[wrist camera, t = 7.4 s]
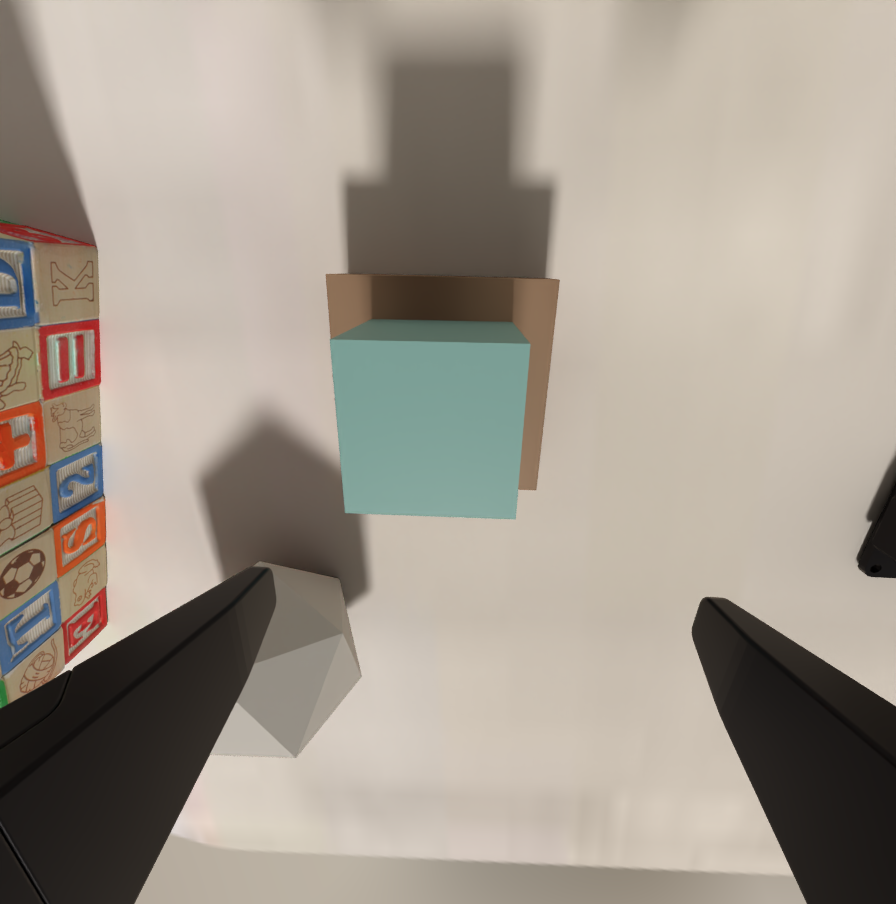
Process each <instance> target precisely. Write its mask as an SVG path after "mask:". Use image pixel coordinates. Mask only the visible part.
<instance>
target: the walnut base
mask: <svg viewBox="0 0 896 904" xmlns="http://www.w3.org/2000/svg"><path fill="white" fill-rule="evenodd" d="M559 281H560V280H557V279H548V278H512V277H470V276H428V275H386V274H326V284H327V297H328V309H329V322H330V334H331V339H332V338H334V337H336V336H338V335H340V334H342V333H344V332H346V331H348V330H350V329H352V328H354V327H356V326H358V325H360V324H362V323H365V322H367V321H369V320H371V319H391V320H441V321H491V322H513V323H514V324H515V326H516V327H517V328H518V329H519V330H520V332H521V333H522V334H523V335H524V337H525V338H526V339H527V340H528V341H529V343H530V356H529V368H528V380H527V391H526V403H525V415H524V427H523V438H522V450H521V462H520V473H519V485H518V489H519V490H536V488H537V479H538V470H539V461H540V452H541V443H542V434H543V425H544V416H545V407H546V398H547V389H548V380H549V371H550V362H551V353H552V344H553V335H554V326H555V317H556V308H557V299H558V290H559Z"/></svg>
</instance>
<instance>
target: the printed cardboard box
mask: <svg viewBox="0 0 896 904" xmlns="http://www.w3.org/2000/svg"><path fill="white" fill-rule="evenodd" d="M100 383H101V365H100V333H99V276H98V251H97V247H96V246H94V245H91V244H87V243H84V242H80V241H77V240H73V239H70V238H66V237H63V236H60V235H56V234H53V233H49V232H45V231H42V230H39V229H35V228H31V227H28V226H24V225H17V224H13V223H10V222H6V221H3V220H0V708H2V707H4V706H5V705H7V704H9V703H11V702H13V701H14V700H16V699H18V698H20V697H22V696H23V695H25V694H27V693H29V692H31V691H33V690H34V689H36V688H38V687H40V686H42V685H43V684H45V683H47V682H49V681H50V680H52V679H54V678H55V677H56V676H57V675H58V674H59V673H60V672H61V671H62V670H63V669H64V667H65V665H66V664H67V663H69V662H70V661H71V660H72V659H73V658H74V657H75V656H76V655H77V654H78V653H79V652H80V651H81V650H82V649H83V648H85V647H86V646H87V645H88V644H89V643H90V642H91V641H92V640H93V639H94V638H95V637H96V636H97V635H98V634H99V633H100V632H101V631H102V630H103V629H104V628H105V627H106V626H107V611H106V594H105V590H106V589H105V586H106V584H107V562H106V547H105V544H104V543H105V537H106V529H105V498H104V497H103V469H102V445H101V442H100V441H101V422H100V418H101V416H100V390H99V385H100Z"/></svg>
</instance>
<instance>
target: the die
mask: <svg viewBox="0 0 896 904" xmlns="http://www.w3.org/2000/svg"><path fill="white" fill-rule="evenodd" d="M253 566H260V567H269V568H270V569H271V570H272V572H273V577H274V584H275V591H276V607H275V610H274V613H273V616H272V618H271V621H270V624H269V626H268V629H267V631H266V634H265V637H264V639H263V642H262V644H261V647H260V650H259V652H258V655H257V658H256V660H255V663H254V665H253V668H252V670H251V673H250V675H249V678H248V680H247V682H246V684H245V686H244V688H243V690H242V692H241V694H240V696H239V698H238V700H237V702H236V704H235V706H234V708H233V710H232V712H231V714H230V716H229V718H228V720H227V722H226V724H225V726H224V728H223V730H222V732H221V734H220V736H219V738H218V739H217V741H216V743H215V745H214V747H213V749H212V751H211V753H210V755H226V756H251V757H277V758H296V757H297V756H298V755H299V754H300V752H301V751H302V750H303V749H304V747H305V746H306V745H307V744H308V742H309V741H310V740H311V739H312V738H313V736H314V735H315V734H316V733H317V731H318V730H319V729H320V728H321V726H322V725H323V724H324V723H325V721H326V720H327V719H328V718H329V716H330V715H331V714H332V713H333V712H334V710H335V709H336V708H337V707H338V705H339V704H340V703H341V702H342V700H343V699H344V698H345V697H346V695H347V694H348V693H349V692H350V690H351V689H352V688H353V687H354V686H355V684H356V683H357V682H358V681H359V679H360V678H361V677H362V675H361V671H360V667H359V662H358V658H357V653H356V649H355V645H354V640H353V636H352V632H351V627H350V623H349V618H348V614H347V610H346V605H345V601H344V597H343V592H342V588H341V584H340V579H338V578H334V577H329V576H325V575H320V574H316V573H311V572H306V571H302V570H297V569H293V568H288V567H284V566H279V565H275V564H270V563H265V562H261V561H259V562H258V563H256V564H255V565H253Z"/></svg>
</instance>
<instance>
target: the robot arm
mask: <svg viewBox="0 0 896 904" xmlns="http://www.w3.org/2000/svg"><path fill="white" fill-rule="evenodd" d="M858 568H859V569H860V570H861V571H862V572H863V573H865V574H866V575H867V576H870V577H883V578H896V483H895V486H894V488H893V490H892V492H891V494H890V496H889V499H888V501H887V503H886V505H885V507H884V509H883V512H882V514H881V516H880V518H879V520H878V522H877V524H876V527H875V529H874V531H873V533H872V535H871V537H870V540H869V542H868V544H867V546H866V548H865V550H864V553H863V555H862V557H861V559H860V561H859V564H858ZM275 607H276V591H275V584H274V577H273V572H272V570H271V569H270V568H269V567H260V566H251V567H249V568H247V569H245V570H243V571H242V572H240V573H238V574H236V575H235V576H233V577H231V578H229V579H228V580H226V581H224V582H222V583H221V584H219V585H217V586H215V587H214V588H212V589H210V590H208V591H207V592H205V593H203V594H201V595H200V596H198V597H196V598H194V599H193V600H191V601H189V602H187V603H186V604H184V605H182V606H180V607H179V608H177V609H175V610H173V611H172V612H170V613H168V614H166V615H165V616H163V617H161V618H159V619H158V620H156V621H154V622H152V623H151V624H149V625H147V626H145V627H144V628H142V629H140V630H138V631H137V632H135V633H133V634H131V635H129V636H128V637H126V638H124V639H122V640H121V641H119V642H117V643H115V644H114V645H112V646H110V647H108V648H107V649H105V650H103V651H101V652H100V653H98V654H96V655H94V656H93V657H91V658H89V659H87V660H86V661H84V662H82V663H80V664H79V665H77V666H75V667H74V668H73V669H72V671H70V670H68V671H66V672H64V673H63V674H61V675H59V676H57V677H56V678H54V679H52V680H50V681H49V682H47V683H45V684H43V685H42V686H40V687H38V688H36V689H34V690H33V691H31V692H29V693H27V694H25V695H23V696H22V697H20V698H18V699H16V700H14V701H13V702H11V703H9V704H7V705H5V706H4V707H2V708H0V904H134V903H135V901H136V899H137V897H138V895H139V893H140V892H141V890H142V888H143V886H144V884H145V881H146V880H147V878H148V876H149V874H150V872H151V870H152V868H153V866H154V864H155V862H156V860H157V858H158V856H159V854H160V852H161V850H162V848H163V846H164V844H165V842H166V840H167V838H168V836H169V834H170V832H171V830H172V828H173V826H174V824H175V822H176V820H177V818H178V817H179V815H180V813H181V811H182V809H183V807H184V805H185V803H186V801H187V799H188V797H189V795H190V793H191V791H192V789H193V787H194V785H195V783H196V781H197V779H198V777H199V775H200V773H201V771H202V769H203V767H204V765H205V763H206V761H207V759H208V757H209V755H210V753H211V751H212V749H213V747H214V745H215V743H216V741H217V739H218V738H219V736H220V734H221V732H222V730H223V728H224V726H225V724H226V722H227V720H228V718H229V716H230V714H231V712H232V710H233V708H234V706H235V704H236V702H237V700H238V698H239V696H240V694H241V692H242V690H243V688H244V686H245V684H246V682H247V680H248V678H249V675H250V673H251V670H252V668H253V665H254V663H255V660H256V658H257V655H258V652H259V650H260V647H261V644H262V642H263V639H264V637H265V634H266V631H267V629H268V626H269V624H270V621H271V618H272V616H273V613H274V610H275ZM692 638H693V641H694V644H695V647H696V650H697V653H698V656H699V658H700V661H701V664H702V667H703V670H704V673H705V676H706V678H707V681H708V684H709V687H710V690H711V693H712V696H713V698H714V701H715V704H716V706H717V709H718V712H719V714H720V717H721V719H722V721H723V723H724V726H725V728H726V730H727V732H728V734H729V737H730V739H731V741H732V743H733V745H734V747H735V749H736V752H737V754H738V756H739V758H740V760H741V762H742V765H743V767H744V769H745V771H746V773H747V775H748V778H749V780H750V782H751V784H752V786H753V788H754V790H755V793H756V795H757V797H758V799H759V801H760V803H761V806H762V808H763V810H764V812H765V814H766V816H767V819H768V821H769V823H770V825H771V827H772V829H773V831H774V834H775V836H776V838H777V840H778V842H779V844H780V847H781V849H782V851H783V853H784V855H785V857H786V860H787V862H788V864H789V866H790V868H791V870H792V872H793V875H794V877H795V879H796V881H797V883H798V885H799V888H800V890H801V892H802V894H803V896H804V898H805V900H806V903H807V904H896V706H894V705H893V704H891V703H890V702H888V701H886V700H885V699H883V698H882V697H880V696H879V695H877V694H875V693H874V692H872V691H871V690H869V689H868V688H866V687H864V686H863V685H861V684H860V683H858V682H857V681H855V680H853V679H852V678H850V677H849V676H847V675H846V674H844V673H842V672H841V671H839V670H838V669H836V668H835V667H833V666H831V665H830V664H828V663H827V662H825V661H824V660H822V659H820V658H819V657H817V656H816V655H814V654H813V653H811V652H809V651H808V650H806V649H805V648H803V647H802V646H800V645H798V644H797V643H795V642H794V641H792V640H791V639H789V638H787V637H786V636H784V635H783V634H781V633H780V632H778V631H776V630H775V629H773V628H772V627H770V626H769V625H767V624H765V623H764V622H762V621H761V620H759V619H758V618H756V617H754V616H753V615H751V614H750V613H748V612H747V611H745V610H743V609H742V608H740V607H739V606H737V605H736V604H734V603H732V602H731V601H729V600H728V599H725V598H718V597H705V598H703V599H702V600H701V602H700V604H699V608H698V611H697V614H696V617H695V620H694V623H693V626H692Z"/></svg>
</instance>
